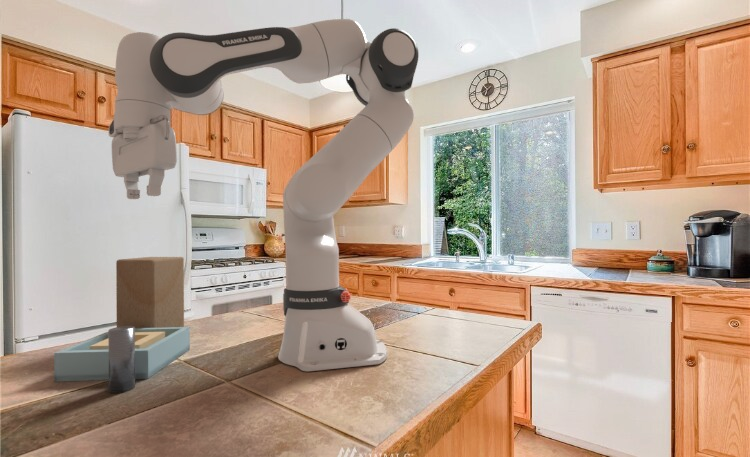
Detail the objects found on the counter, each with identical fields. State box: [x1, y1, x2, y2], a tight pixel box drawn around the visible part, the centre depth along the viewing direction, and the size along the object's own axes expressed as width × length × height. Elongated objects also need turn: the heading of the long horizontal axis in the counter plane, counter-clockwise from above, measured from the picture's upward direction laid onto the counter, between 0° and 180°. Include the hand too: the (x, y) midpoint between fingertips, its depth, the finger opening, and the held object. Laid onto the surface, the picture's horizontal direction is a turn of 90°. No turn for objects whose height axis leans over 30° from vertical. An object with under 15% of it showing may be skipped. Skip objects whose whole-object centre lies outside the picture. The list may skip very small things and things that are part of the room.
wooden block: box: [115, 256, 185, 328], centre depth 87 cm, size 10×10×20 cm
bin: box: [53, 326, 191, 383], centre depth 72 cm, size 16×16×5 cm
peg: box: [107, 326, 136, 395], centre depth 60 cm, size 4×4×10 cm
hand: (143, 197), depth 67 cm, fingers open, 8 cm apart
